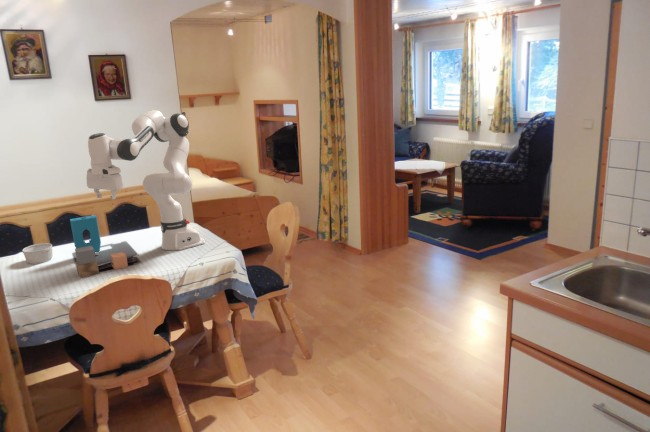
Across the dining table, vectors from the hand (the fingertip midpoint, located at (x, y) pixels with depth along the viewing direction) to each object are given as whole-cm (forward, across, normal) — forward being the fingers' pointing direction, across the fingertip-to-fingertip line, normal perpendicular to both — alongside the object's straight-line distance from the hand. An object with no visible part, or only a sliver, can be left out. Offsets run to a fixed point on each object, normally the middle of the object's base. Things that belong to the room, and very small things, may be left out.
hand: (106, 198), depth 240 cm
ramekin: (+33, -43, -10) cm, 55 cm away
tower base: (+33, -2, -14) cm, 36 cm away
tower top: (+27, -2, -14) cm, 30 cm away
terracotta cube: (+33, +5, -2) cm, 33 cm away
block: (+33, -24, +4) cm, 41 cm away
